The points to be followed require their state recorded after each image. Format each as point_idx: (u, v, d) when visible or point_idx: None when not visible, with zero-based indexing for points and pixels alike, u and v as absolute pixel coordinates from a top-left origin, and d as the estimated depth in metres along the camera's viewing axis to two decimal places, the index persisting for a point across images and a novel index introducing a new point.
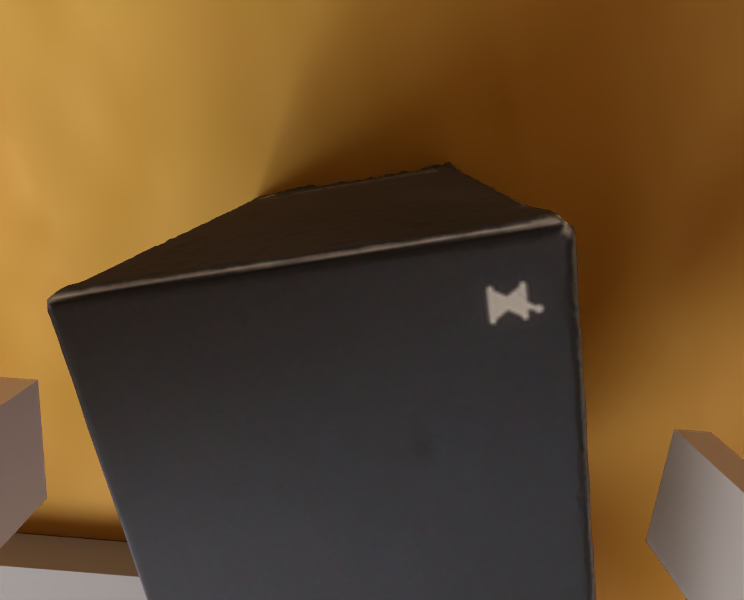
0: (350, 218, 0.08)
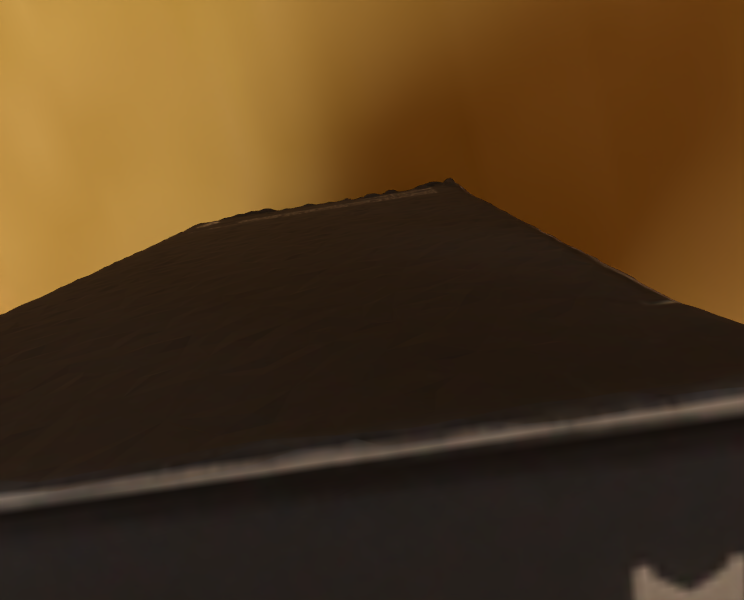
0: (289, 303, 0.04)
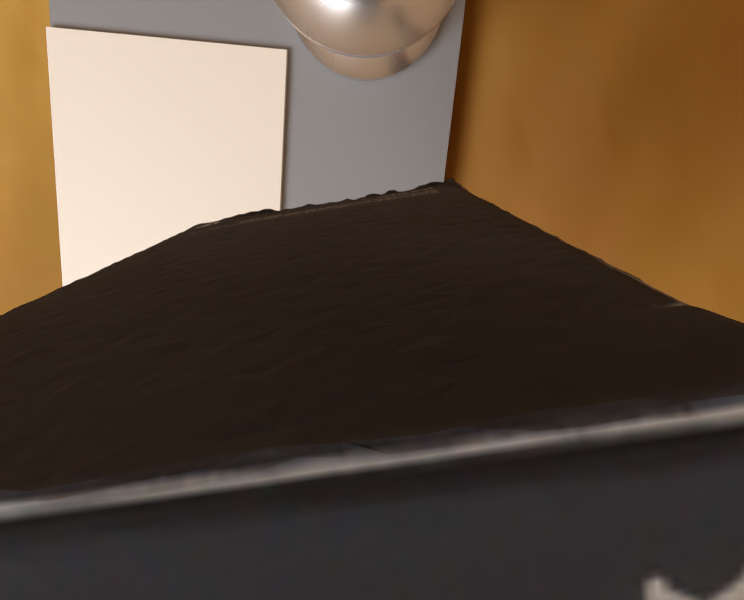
0: (289, 304, 0.04)
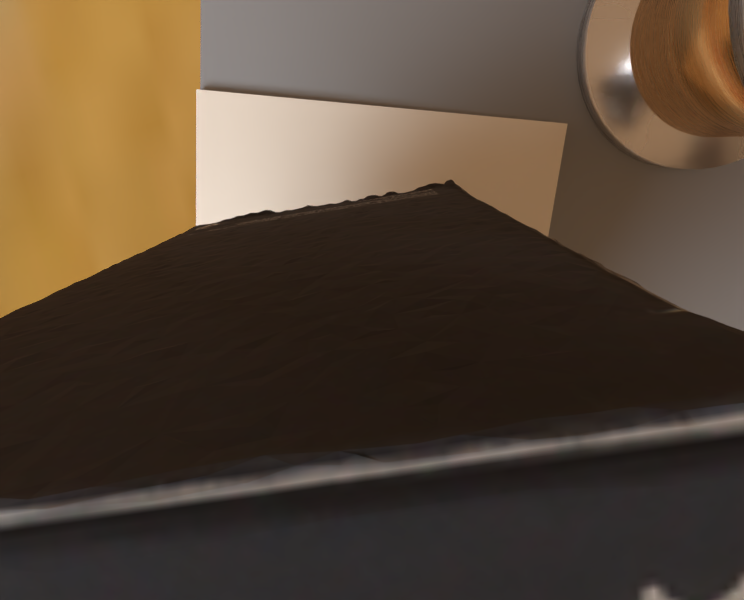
0: (288, 309, 0.04)
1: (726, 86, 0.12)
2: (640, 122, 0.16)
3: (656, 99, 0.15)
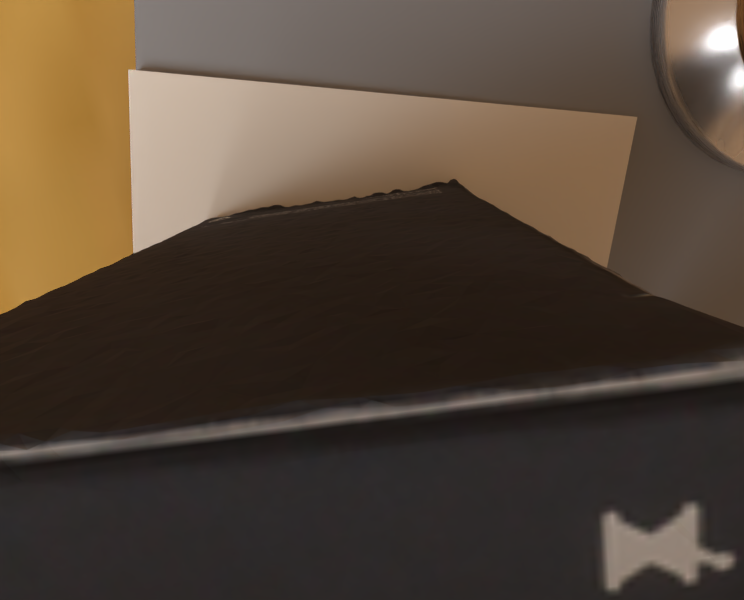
0: (306, 291, 0.04)
1: None
2: (739, 115, 0.12)
3: None
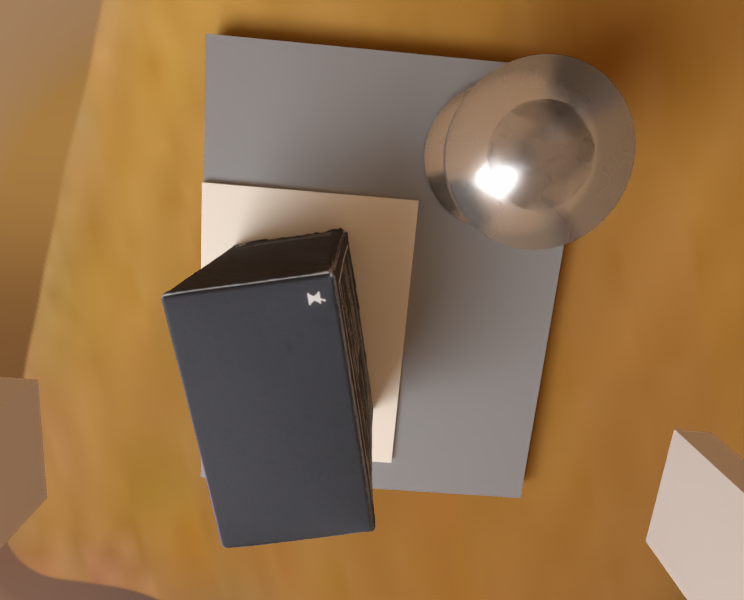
0: (270, 266, 0.20)
1: None
2: None
3: None
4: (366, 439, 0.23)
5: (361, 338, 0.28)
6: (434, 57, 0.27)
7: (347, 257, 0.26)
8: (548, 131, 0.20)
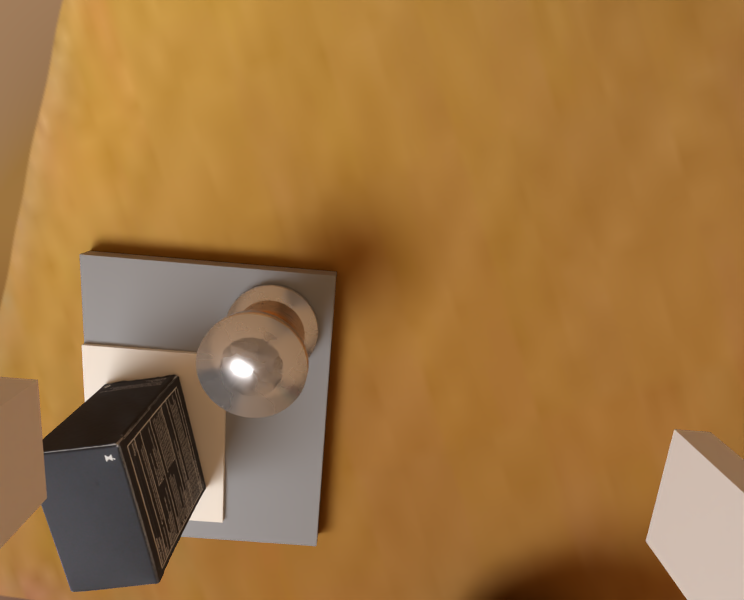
0: (94, 430, 0.35)
1: None
2: None
3: None
4: (162, 525, 0.37)
5: (186, 447, 0.43)
6: (229, 268, 0.41)
7: (170, 399, 0.41)
8: (254, 354, 0.34)
